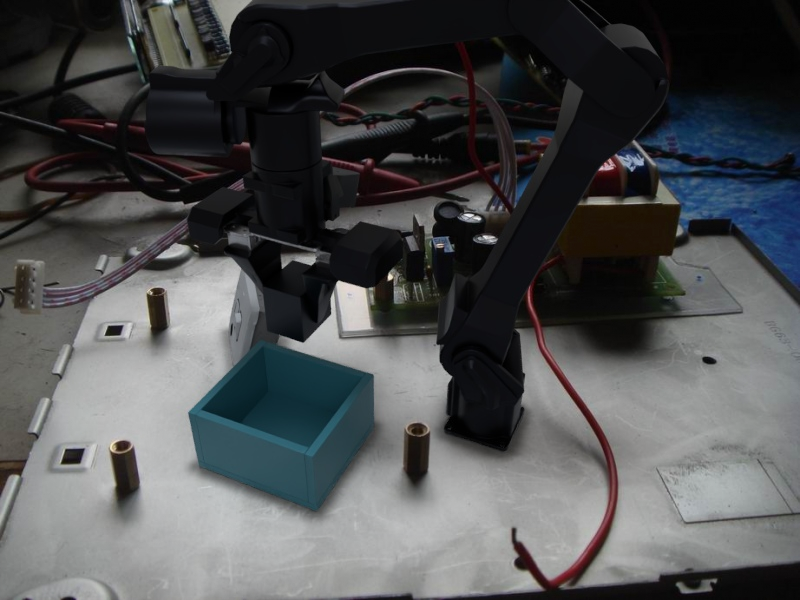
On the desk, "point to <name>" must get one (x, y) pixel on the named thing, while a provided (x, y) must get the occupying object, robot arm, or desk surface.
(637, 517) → the desk surface
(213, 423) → the bin
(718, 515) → the desk surface
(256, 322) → the electrical switch
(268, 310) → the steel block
